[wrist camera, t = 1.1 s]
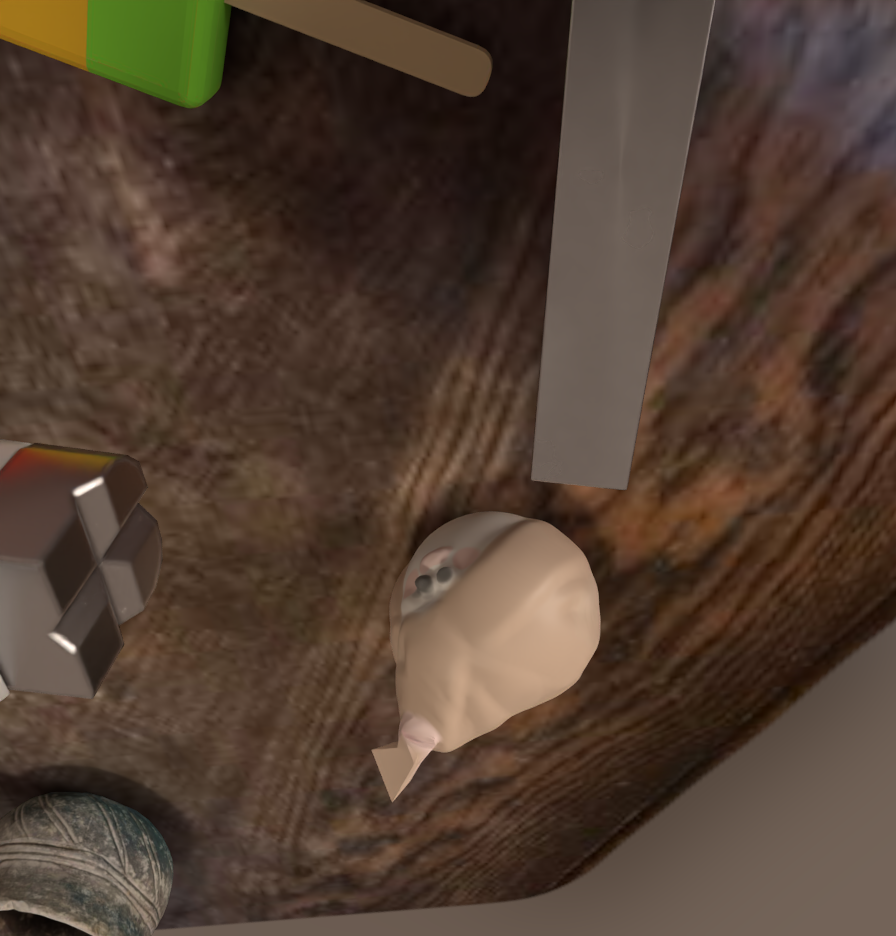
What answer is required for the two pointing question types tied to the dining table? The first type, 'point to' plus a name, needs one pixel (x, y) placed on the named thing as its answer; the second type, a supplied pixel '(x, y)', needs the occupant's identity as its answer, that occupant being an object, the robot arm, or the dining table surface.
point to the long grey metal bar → (613, 227)
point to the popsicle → (205, 38)
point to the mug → (81, 868)
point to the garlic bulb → (484, 632)
